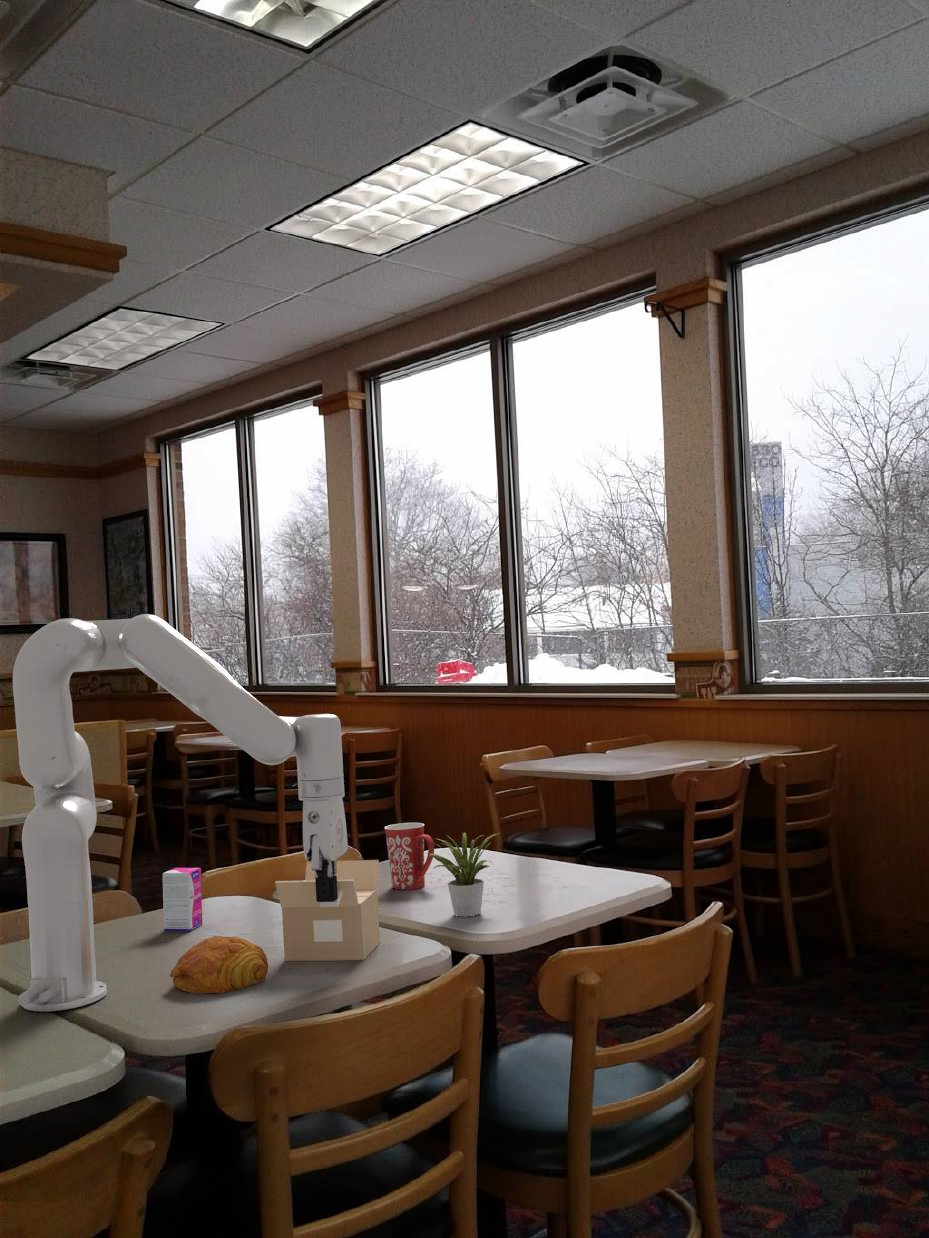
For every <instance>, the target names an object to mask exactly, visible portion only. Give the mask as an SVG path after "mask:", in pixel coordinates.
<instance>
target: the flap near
mask: <svg viewBox="0 0 929 1238" xmlns="http://www.w3.org/2000/svg"><path fill="white" fill-rule="evenodd" d="M274 883H275V889H276V891H277V896H278V900H279V904H280V907H281V908H282V907H338V906H358V905H359V903H358V898H357V894H356V889H355V884H354V879H346V880H337V891H338V899H337V900H335V901H334V902H317V900H316V883H315V880H305V879H304V880H303V879H302V880H276V881H274Z"/></svg>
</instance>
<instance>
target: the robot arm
mask: <svg viewBox="0 0 929 1238" xmlns="http://www.w3.org/2000/svg"><path fill="white" fill-rule="evenodd" d="M133 668H134V669H135V668H137V669H138V670H139V671H141V672H142V673H143V674H145V675H146V676H147V677H149V678H150V679H152V680H153V681H154V682H155V683H157V684H158V685H159V686H160V687H162V688H163V689H164V690H165V691H167V692H168V693H170V694H171V695H172V696H173V697H175V698H176V699H177V700H178V701H179V702H181V703H182V704H183V705H185V706H186V707H187V708H188V709H189V710H190V711H191V712H193V713H194V714H196V715H197V716H198V717H200V718H202V719H203V720H205V721H206V722H208V723H209V724H210V725H211V726H213V727H214V728H215V729H216V730H217V731H218V732H220V733H221V734H222V735H224V736H225V737H226V738H228V739H229V740H230V741H231V742H233V743H234V744H235V745H236V746H238V747H239V748H240V749H242V750H243V751H244V752H245V753H247V754H248V755H249V756H251V758H253V759H254V760H256V761H257V762H260V763H261V764H263V765H264V764H265V765H267V766H268V765H269V766H275V765H279V764H282V763H284V762H286V761H287V760H288V759H289V758H292V757H296V766H297V767H296V768H297V769H296V770H297V787H298V788H297V789H298V800H299V801H303V802H302V846H303V855H304V859H305V860H306V862H312V870H314V874H315V883H316V900H317V902H334V901H335V900H337V899H338V891H337V875H336V874H337V861H338V858H340V857H341V856H343V855H344V854H345V853H346V852H347V851H348V849H349V846H348V845H349V844H348V832H347V822H346V820H347V819H346V814H345V812H346V811H345V807H344V800H343V798H344V797H345V784H344V783H345V780H344V764H343V762H344V761H343V743H342V727H341V720H340V718H339V717H338V715H336V714H331V713H318V714H317V713H316V714H306V715H302V716H281V715H277V714H276V713H275V712H273V711H272V710H271V709H269V708H268V707H267V706H266V705H264V704H263V703H262V702H260V701H259V700H258V699H257V698H255V697H254V696H253V695H252V694H251V693H249V691H247V690H246V689H245V688H243V686H241V685H240V684H239V683H238V682H237V681H236V680H235V679H234V678H233V676H231V674H230V673H229V672H228V671H227V670H226V669H225V668H224V667H223V666H222V665H221V664H220V663H218V662H217V661H216V660H214V659H213V658H212V657H211V656H209V655H208V654H207V653H206V652H204V651H203V650H202V649H200V648H199V647H198V646H197V645H195V644H194V643H192V641H190V640H189V639H187V638H186V637H185V636H184V635H182V634H181V633H180V632H179V631H178V630H176V629H175V628H174V627H173V626H171V625H170V624H169V623H168V622H167V621H166V620H164V619H162V618H161V617H159V616H157V615H155V614H149V613H144V614H143V613H141V614H139V615H136V616H134V617H132V618H122V619H121V618H120V619H106V620H105V619H104V620H103V619H101V620H82V619H79V618H70V617H69V618H60V619H57V620H54V621H52V622H49V623H47V624H46V625H44V626H42V627H41V628H39V629H38V630H37V631H35V632H34V633H33V634H32V635H31V636H30V637H28V638H27V640H26V641H25V642H24V643H23V645H22V646H21V648H20V650H19V651H18V654H17V655H16V659H15V660H14V664H13V671H12V689H13V690H12V692H13V701H14V713H15V725H16V726H15V727H16V737H17V747H18V761H19V762H18V763H19V768H20V773H21V774H22V776H23V779H24V780H25V781H26V782H27V784H29V785H31V786H32V787H33V796H34V804H35V806H34V807H33V808H32V810H31V811H29V813H28V815H27V816H26V819H25V820H24V823H23V828H22V831H21V833H22V834H21V847H22V853H23V859H24V866H25V876H26V891H27V905H28V909H27V910H28V925H29V926H28V929H29V930H28V931H29V946H30V947H29V949H30V953H29V954H30V972H31V973H30V974H31V979H30V980H29V988H28V990H25V991H23V992H22V993H20V994H19V995H18V996H17V1003H18V1005H19V1006H21V1007H22V1008H23V1009H25V1010H28V1011H31V1012H40V1013H41V1012H42V1013H43V1012H45V1013H46V1012H57V1011H65V1010H71V1009H77V1008H81V1007H84V1006H87V1005H90V1004H92V1003H95V1002H97V1001H100V1000H101V999H103V998H104V997H105V996H106V995H107V993H108V989H107V987H108V986H107V985H106V983H104V982H103V981H98V980H97V976H96V975H97V972H96V968H97V967H96V949H95V930H94V929H95V928H94V927H95V926H94V908H93V905H94V904H93V891H92V874H91V872H92V871H91V864H90V862H91V861H90V854H89V839H90V838H91V837H92V835H93V833H94V832H95V828H96V826H97V818H98V815H97V814H98V813H97V804H96V795H95V786H94V779H93V778H94V777H93V770H92V759H91V754H90V750H89V747H88V744H87V743H86V741H85V739H84V738H83V737H82V735H81V734H80V733H78V732H77V731H76V730H75V722H74V715H73V702H72V695H71V692H70V679H71V678H72V677H71V676H72V674H73V673H78V672H79V673H81V672H90V671H91V672H93V671H94V672H95V671H107V670H124V669H125V670H126V669H133Z"/></svg>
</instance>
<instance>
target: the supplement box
mask: <svg viewBox="0 0 929 1238" xmlns="http://www.w3.org/2000/svg"><path fill="white" fill-rule="evenodd" d="M202 894H203V892H202V868H201V867H174V868H172V869H170V870H167V871H165V872H163V873H162V901H163V904H162V905H163V932H164V933H172V932H173V933H180V932H181V933H187V932H188V933H189V932H191V931H193V930H194V929H196V928H199V927H200V926H202V925H203V897H202Z"/></svg>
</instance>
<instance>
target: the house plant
mask: <svg viewBox="0 0 929 1238" xmlns="http://www.w3.org/2000/svg"><path fill="white" fill-rule="evenodd" d="M445 835H446V836H447V838H449V839H450V840H451V841H452V843H453V844H454V845H455V846H454V845H453V844H452V843H450V842H449V841H446V840H443V839H440V838H434V840H439V841H441V842H443V843H441V842H440V844H442V845H445V846H447V847H448V849H449V850H450V852H451V853H452V856H453V857H454V858H452V860H453V861H454V862H455V863H453V862H452V861H451V860H450V859H448V858H446V857H443V856H441V855H438V854H436V853H434V854H429V853H428V852H426V853H425V852H424V855H425V854H427V856H428V855H429V856H432V857H433V859H435V860H436V861H438V862H440V863H441V864H437V865H435V866H434V867H432V870H434V869H435V868H436V869H437V868H438V867H444V868H446V869H447V870H448V871H449V872H450V873H451V875H453V877H454V879H452V880H450V881H448V882H447V886H448V893H449V896H450V901H451V905H452V906H451V907H452V910H453V915H454V914H455V915H457V916H473V917H476V916H475V915H477V916H479V915H481V914H480V913H482V903H483V892H484V882H485V881H484V880H483V879H482V878H477V877H476V876H477V874H478V873H479V872H480V871H482V870H484V869H487V868H490V865H488V864H485V863H486V862H488V860H486V859H482V860H479V859H480V857H481V856H482V855H483V853H484V851H485V850H486V849H487V847H489V845H490V844H491V842H492V841H491V842H489V843H488V844H487V842H488V841H489V840H490V839H491V838H493V837H494V836H496V835H497V836H498V835H501V832H500V833H493V834H490V835H489V836H487V837H486V838H485V839H484V840H483V841H482V842H481V843H480V844H479V846H476V847H474V846H475V843H476V841H477V840H478V839H479V838H480V837H483V836H484V834H482V835H479V836H477V837H476V838H475V839H472V840H471V841H470V847H469V855H468V836H467V833H466V832H464V831H463V832H462V839H461V848H460V846H459V845H458V844H457V842H456V841H455V840H454V839H453V838H451V837H450V836H449V835H447V834H446V833H445ZM485 844H486V846H485ZM435 845H436V846H438V847H440V848H442V847H441V846H440V845H439V844H436V843H435ZM484 846H485V847H484ZM442 849H443V848H442ZM445 851H446V850H445ZM446 853H447V854H448V855H449V856H451V854H450V853H449V852H447V851H446ZM478 861H479V862H478ZM477 862H478V863H477ZM489 862H490V863H492V861H491V860H489ZM455 864H456V865H455ZM478 914H479V915H478ZM455 915H454V916H455ZM457 916H456V917H457Z"/></svg>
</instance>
